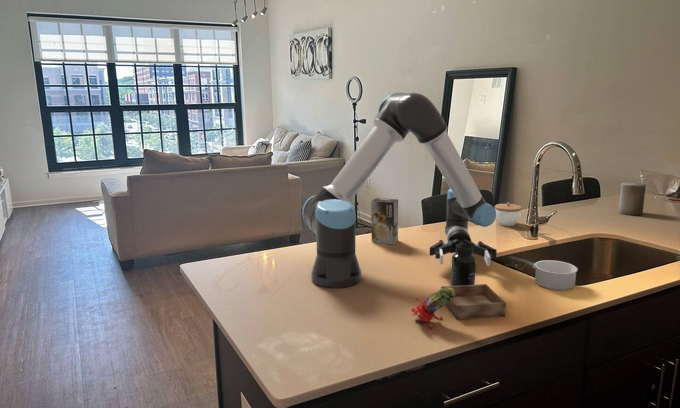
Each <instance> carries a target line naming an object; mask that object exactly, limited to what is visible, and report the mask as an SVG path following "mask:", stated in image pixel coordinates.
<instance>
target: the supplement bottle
mask: <svg viewBox="0 0 680 408" xmlns="http://www.w3.org/2000/svg"><path fill="white" fill-rule="evenodd" d="M456 252H457V253H453V255H452V257H451V270H450V273H451V274H450V284H451V286H461V285H476V272H477V271H476V270H477V258H476V255H474V253H473V246H472V245H469V244H457V245H456ZM472 253H473V254H472Z"/></svg>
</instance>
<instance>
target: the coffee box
mask: <svg viewBox="0 0 680 408" xmlns="http://www.w3.org/2000/svg"><path fill="white" fill-rule="evenodd" d="M370 206H371V207H370V208H371V209H370V210H371V214H370V216H371V218H370V219H371V220H370V221H371V223H370V224H371V226H370V227H371V231H370V232H371V243H374V244H376V243H377V244H385V245H386V244H387V245H396V243H397V242H398V241H399V199H396V198H395V199H393V198H381V197H375V198H373V199H372V200H371V202H370Z"/></svg>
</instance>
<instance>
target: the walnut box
mask: <svg viewBox="0 0 680 408" xmlns="http://www.w3.org/2000/svg"><path fill="white" fill-rule="evenodd" d="M444 287H448V288H453V289H454V290H455V296H454V297H453V300H452V301H450V302H448V303H446V304H444V305H445V306H446V308H447V309H448V311H449V312H450V313H451V315H452V316H453V317H454V318H455V320H470V319H473V320H474V319H487V318H489V319H490V318H500V317H502V318H503V317H506V310H507V309H506V308H507V303H506V302H505V301H504V299H502V298H501V297H500V296H499V295H498V294H497V293H496V292H495V291H494V290H493V289H492V288H491V287H490V286H488V285H487V284H486V283H485V284H484V283H483V284H482V283H481V284H475V285H461V286H452V285H445V286H440V289H441V288H444Z"/></svg>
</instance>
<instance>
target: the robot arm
mask: <svg viewBox="0 0 680 408" xmlns="http://www.w3.org/2000/svg"><path fill="white" fill-rule="evenodd" d="M377 111H378V113H377V115H376V116H375V117H374V118H373V125H374V126H373V127H372V129H371V130H370V131H369V132H368V134H367V136H366V137H365V138H364V140H362V141H361V143H360V144H359V146H358V147H357V148H356V150H355V151H354V153H353V154H352V155H351V156H350V158H349V159H348V160H347V162H346V163H345V165H343V167H342V169H340V171H339V172H338V173H337V175H336V176H335V177H334V179H332V182H331V183H330V184H329V185H323V186H322V187H321V188H320V189H319V191H318V192H317V193H316V194H314V195H312V196H310V197H309V198H308V199H306V201H305V202H304V204H303V206H302V211H301V212H302V214H301V216H302V219H303V222H304V223H305V226H306V227H307V228H308V229H309V230H311V231H312V232H313V233H314V234H315V236H316V256H315V260H314V262H313V265H312V269H311V281H312V283H314V284H315V285H317V286H320V287H323V288H331V289H332V288H334V289H338V288H339V289H340V288H348V287H353V286H355V285H357V284H359V283H360V282H361V281H362V270H361V267H360V264H359V260H358V258H357V257H358V256H357V255H356V254H357V253H356V221H357V214H356V209H355V206H354V205H353V204H352V200H353V199H354V197H356V195H357V194H358V192H359V191H360V190H361V188H362V187H363V185H364V184H365V183H366V182H367V181H368V179H369V178H370V176H371V175H372V174H373V173H374V171H375V170H376V169H377V167H378V166H379V164H380V163H381V162H382V161H383V160H384V158H385V157H386V155H387V154H388V153H389V151H390V150H391V149H392V147H393V146H395V144H396V143H400V142H403V141H404V140H405V139H406V137H407V135H408V134H409V133H411V134H412V135H414V137H415V138H416V140H417V141H418V143H419V144H421V145H424V146H425V148H426V150H427V151H428V154H429V155H430V157H431V158H432V160H433V162H434V164H435V165H436V167H437V168H438V170H439V171H440V173H441V175H442V177H443V179H444V181H445V182H446V184H447V185H448V186H449V189H448V190H447V197H446V219H445V220H446V221H445V227H444V233H445V236H446V241H447V242H445V241H444V240H442V239H439V241H438V242H437V243H435V244H433V245H432V246H430V247H429V256H434V257H435V259H437V260H439V264H440V265H444V255H446V254H449V253H450V254H455V253H457V252H456V245H457V244H469V245H472V246H473V253H472V254H473V255H474V254H475V255H477V256H480V257H483V258H484V261H485V263H486V266H487V267H490V266H491V261H493V259H496V258H497V251H498V250H497V248H496V249H495V248H494V247H492V246H489V245H487V244H485V243H484V242H483V241H478V242H477V243H475V242H473V241H472V238H471V236H470V233H469V231H468V230H469V226H468V225H469V222H470V223H472V224H474V225H475V226H479V227H483V228H486V227H490V226H491V225H492V224H494V222H495V221H496V220H497V219H496V210H495V206H493V205H491V204H490V203H488V202H486V200H485V198H484V197H483V195H482V194H481V191H480V190H479V188H478V186H477V184H476V182H475V181H474V178H473V177H472V175H471V173H470V172H469V170H468V168H467V166H466V165H465V162H464V161H463V159H462V157H461V156H460V154H459V152H458V150H457V148H456V146H455V145H454V143H453V142H452V140H451V138H450V136H449V134H448V132H447V130H448V125H447V123H446V122H445V120H444V118H443V116H442V114H441V113H440V111H439V110H438V109H437V107H436V106H435V104H434V103H433V101H431V100H430V99H429V98H428V97H427V96H425V95H423V94H422V93H417V92H408V93H405V92H395V93H392V94H390V95H388V96H386V97H385V98H384V99H383V100H382V101H381V102H380V104H379V106H378V110H377Z"/></svg>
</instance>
